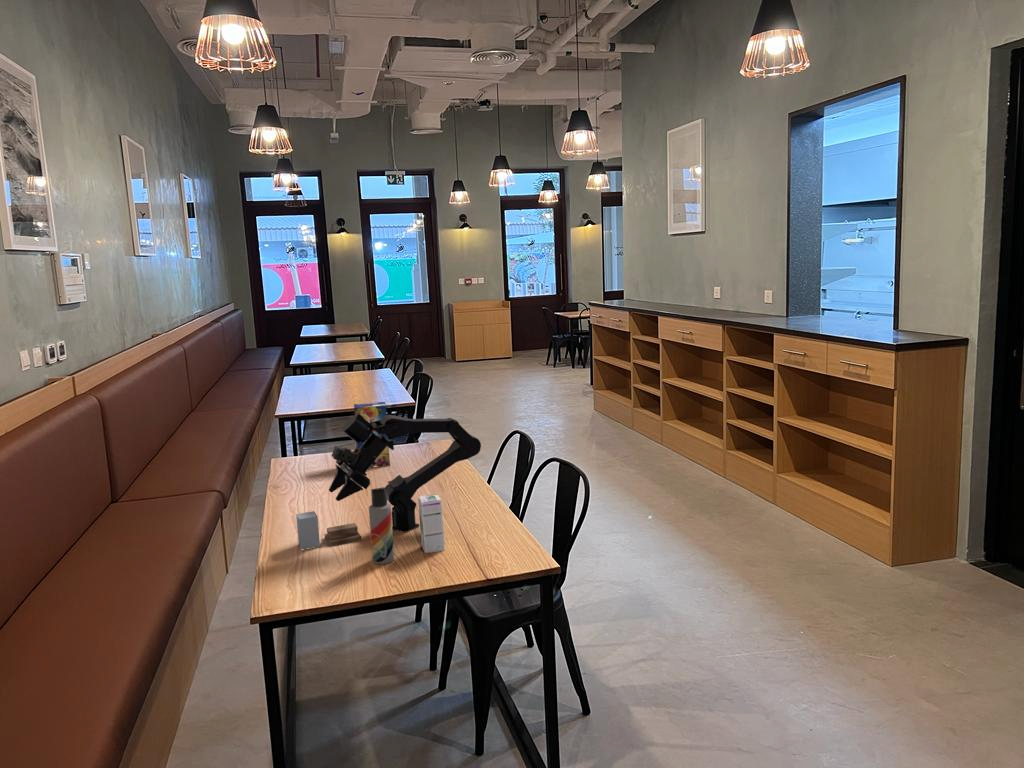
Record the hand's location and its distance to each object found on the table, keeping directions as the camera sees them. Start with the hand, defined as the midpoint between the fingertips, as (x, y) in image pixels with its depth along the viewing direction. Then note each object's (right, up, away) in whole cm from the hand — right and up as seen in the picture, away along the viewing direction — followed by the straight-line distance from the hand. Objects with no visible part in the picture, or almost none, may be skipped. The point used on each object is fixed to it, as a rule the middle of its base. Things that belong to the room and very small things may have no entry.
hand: (333, 495), depth 211 cm
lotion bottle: (+17, -15, -13) cm, 26 cm away
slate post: (-6, -14, -1) cm, 15 cm away
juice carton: (-3, 0, +81) cm, 81 cm away
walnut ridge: (+2, -13, +3) cm, 13 cm away
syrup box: (+29, -14, -6) cm, 33 cm away
